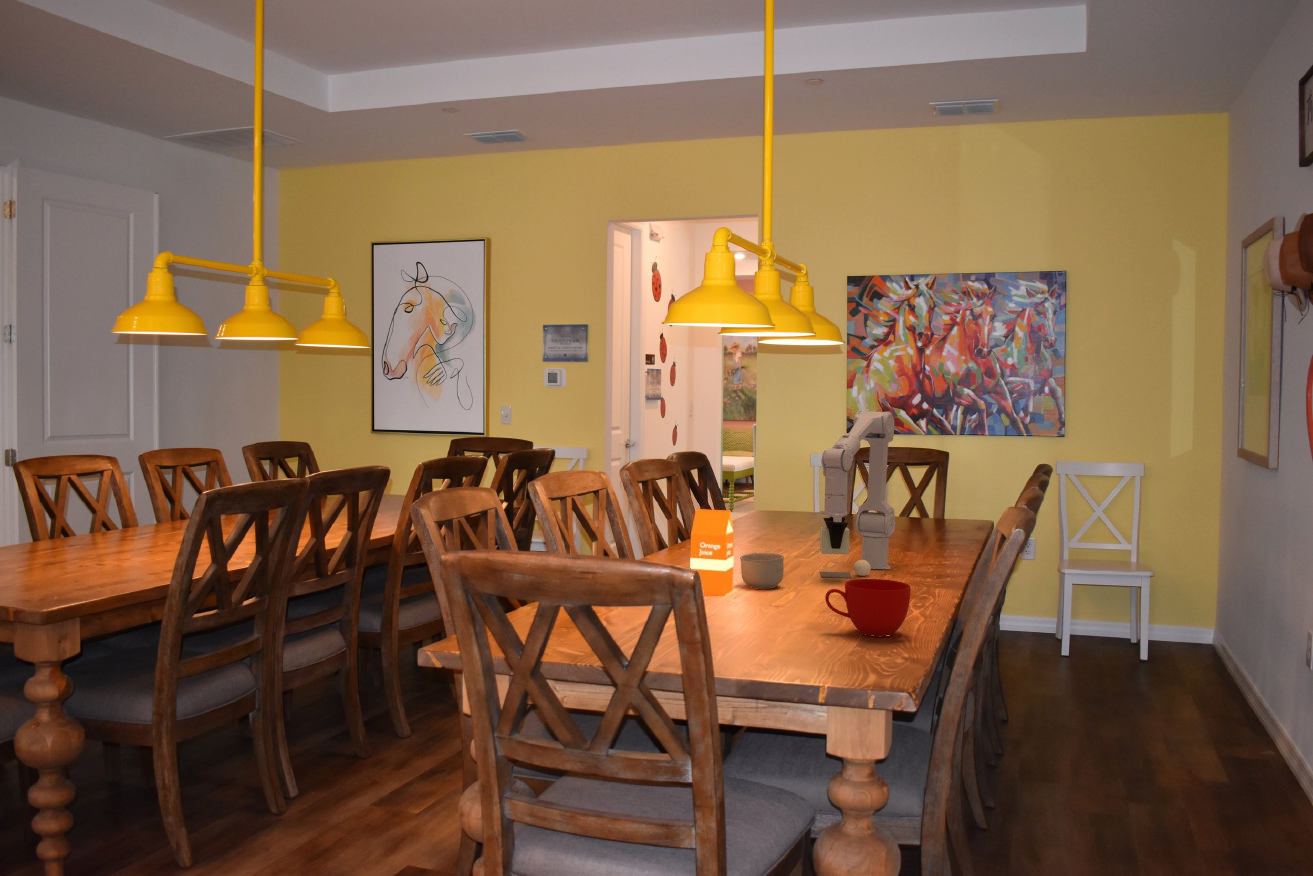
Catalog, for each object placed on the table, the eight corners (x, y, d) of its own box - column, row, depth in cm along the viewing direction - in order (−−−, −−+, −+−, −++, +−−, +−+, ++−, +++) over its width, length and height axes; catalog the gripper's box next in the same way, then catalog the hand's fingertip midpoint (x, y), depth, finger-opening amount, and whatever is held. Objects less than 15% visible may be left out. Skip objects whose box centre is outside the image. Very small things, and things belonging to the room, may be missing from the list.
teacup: (785, 591, 252) (786, 559, 252) (741, 590, 252) (741, 558, 252) (779, 581, 266) (780, 550, 265) (737, 580, 266) (738, 549, 266)
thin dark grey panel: (819, 572, 280) (819, 571, 280) (849, 573, 280) (849, 572, 280) (821, 577, 272) (821, 576, 272) (852, 578, 272) (852, 577, 272)
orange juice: (724, 596, 245) (726, 512, 244) (689, 593, 248) (690, 510, 247) (733, 590, 252) (734, 509, 252) (698, 587, 255) (699, 507, 254)
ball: (852, 574, 278) (853, 558, 278) (869, 575, 277) (869, 558, 277) (854, 577, 273) (854, 560, 273) (871, 577, 273) (871, 561, 273)
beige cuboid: (847, 551, 270) (847, 527, 270) (849, 554, 265) (849, 530, 264) (820, 550, 271) (820, 527, 271) (821, 553, 265) (822, 529, 265)
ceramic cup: (820, 625, 215) (821, 577, 215) (902, 627, 214) (903, 579, 214) (828, 640, 202) (830, 589, 202) (915, 641, 201) (917, 591, 201)
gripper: (818, 491, 275) (817, 542, 275) (822, 496, 260) (821, 550, 261) (845, 492, 274) (844, 543, 275) (850, 497, 260) (849, 551, 260)
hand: (834, 546), depth 268 cm, fingers closed on beige cuboid, 6 cm apart
